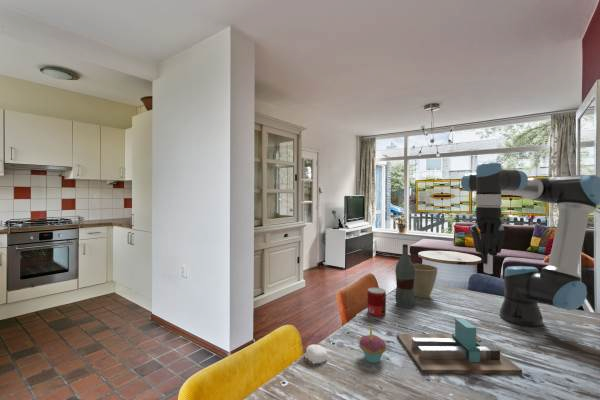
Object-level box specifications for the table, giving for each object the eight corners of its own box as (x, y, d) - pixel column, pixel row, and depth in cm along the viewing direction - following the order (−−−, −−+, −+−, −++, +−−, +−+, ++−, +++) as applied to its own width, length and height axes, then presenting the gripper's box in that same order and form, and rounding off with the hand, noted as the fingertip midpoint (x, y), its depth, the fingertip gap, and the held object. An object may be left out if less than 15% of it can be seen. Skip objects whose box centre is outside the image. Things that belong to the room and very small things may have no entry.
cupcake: (381, 369, 89) (381, 330, 89) (355, 360, 93) (355, 324, 93) (388, 356, 96) (389, 320, 96) (364, 349, 101) (364, 315, 101)
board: (475, 337, 110) (475, 334, 110) (522, 374, 87) (522, 370, 87) (396, 336, 110) (396, 333, 110) (422, 373, 87) (422, 369, 87)
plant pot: (410, 300, 149) (410, 269, 149) (405, 291, 164) (405, 263, 164) (441, 301, 147) (441, 270, 147) (432, 292, 162) (432, 264, 162)
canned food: (386, 318, 127) (386, 293, 127) (367, 316, 129) (367, 292, 129) (384, 311, 135) (385, 287, 135) (367, 310, 136) (367, 286, 136)
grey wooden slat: (470, 347, 99) (470, 338, 99) (474, 351, 97) (474, 342, 97) (411, 346, 100) (411, 337, 100) (414, 349, 98) (414, 340, 98)
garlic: (301, 355, 97) (301, 344, 97) (318, 350, 100) (318, 339, 100) (313, 367, 90) (313, 355, 90) (331, 361, 93) (331, 350, 93)
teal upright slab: (460, 344, 101) (460, 316, 101) (479, 362, 90) (479, 330, 90) (452, 344, 101) (452, 316, 101) (470, 362, 90) (470, 330, 90)
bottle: (392, 301, 147) (393, 243, 147) (410, 301, 147) (411, 243, 147) (398, 308, 138) (398, 246, 138) (417, 308, 138) (418, 246, 138)
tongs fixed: (485, 348, 99) (485, 338, 99) (499, 360, 92) (500, 350, 92) (412, 347, 99) (412, 338, 99) (421, 359, 92) (421, 349, 92)
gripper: (499, 206, 106) (499, 270, 106) (464, 206, 106) (463, 270, 106) (514, 207, 99) (514, 275, 99) (476, 206, 99) (476, 275, 99)
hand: (488, 272), depth 102 cm, fingers closed
